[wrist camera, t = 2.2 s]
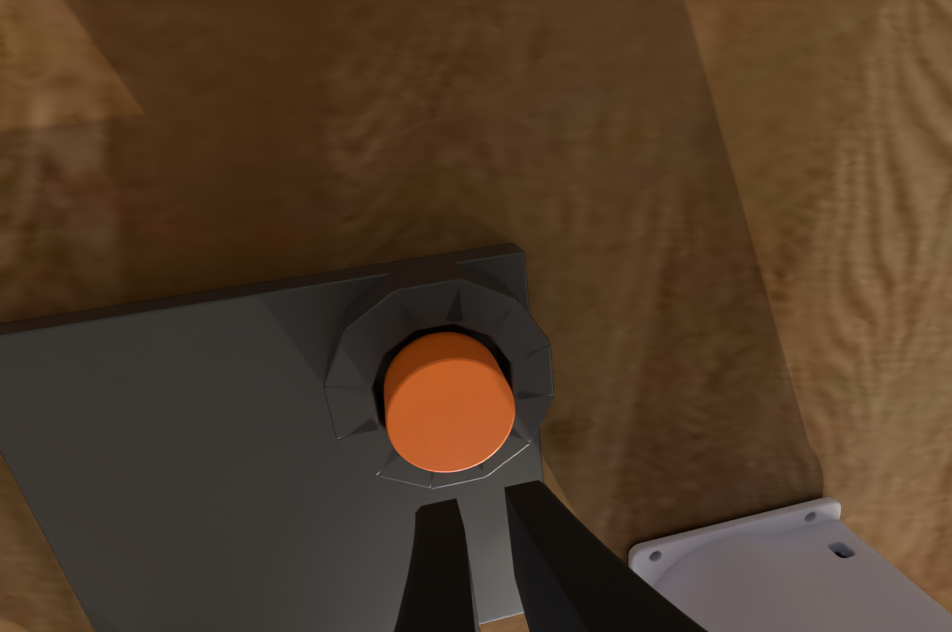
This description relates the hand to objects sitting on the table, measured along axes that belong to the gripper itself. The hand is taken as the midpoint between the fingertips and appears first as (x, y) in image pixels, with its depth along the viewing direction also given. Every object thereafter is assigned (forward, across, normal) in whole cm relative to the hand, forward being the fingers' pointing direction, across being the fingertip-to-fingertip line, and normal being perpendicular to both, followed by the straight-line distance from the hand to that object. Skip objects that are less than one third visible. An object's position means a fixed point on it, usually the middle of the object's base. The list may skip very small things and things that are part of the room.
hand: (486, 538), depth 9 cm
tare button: (+6, 0, 0) cm, 6 cm away
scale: (+8, +4, +4) cm, 10 cm away
